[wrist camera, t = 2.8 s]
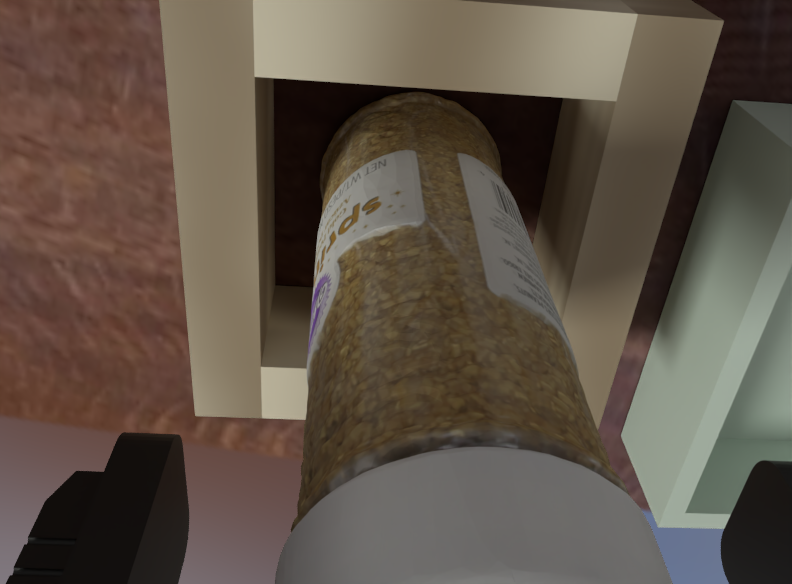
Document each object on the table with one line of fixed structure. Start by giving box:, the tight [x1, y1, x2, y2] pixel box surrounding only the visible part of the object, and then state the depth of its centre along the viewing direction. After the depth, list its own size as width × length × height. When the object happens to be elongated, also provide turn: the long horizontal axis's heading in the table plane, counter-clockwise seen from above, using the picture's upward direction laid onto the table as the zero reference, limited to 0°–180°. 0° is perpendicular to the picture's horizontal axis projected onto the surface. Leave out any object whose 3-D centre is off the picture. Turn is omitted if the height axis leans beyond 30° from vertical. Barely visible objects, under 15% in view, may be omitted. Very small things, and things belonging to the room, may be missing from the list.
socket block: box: [159, 0, 724, 429], centre depth 17 cm, size 10×10×4 cm
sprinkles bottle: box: [275, 92, 673, 584], centre depth 13 cm, size 5×5×14 cm
